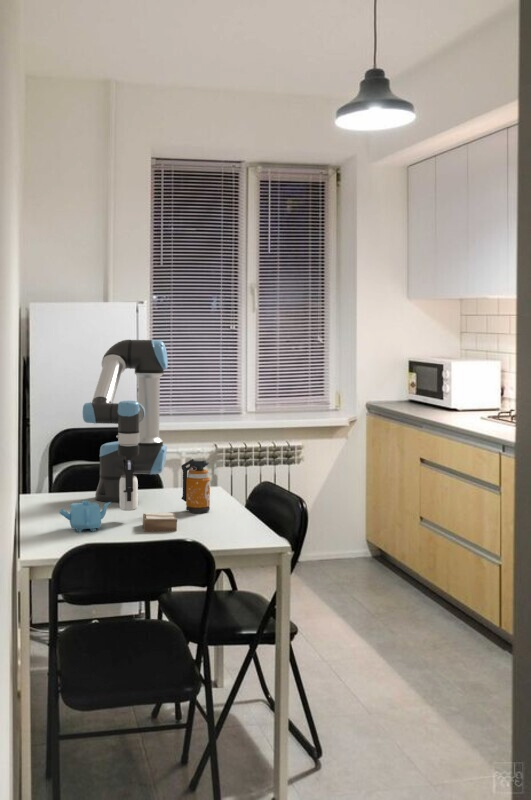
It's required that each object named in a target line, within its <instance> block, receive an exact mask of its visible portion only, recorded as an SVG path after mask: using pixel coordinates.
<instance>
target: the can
mask: <svg viewBox="0 0 531 800" xmlns="http://www.w3.org/2000/svg"><path fill="white" fill-rule="evenodd" d="M138 487H139V484H138V478H137V474H133V510H125V492H123V491H124V490H125V489H126V480H125V475H122V476H121V478H120V485H119V497H120V502H119V509H120V511H126V512H127V511H128V512H129V511H135V510H137V509H138V505H139V504H138V500H139V499H138V498H139V496H138V493H139V491H138V490H139V488H138Z"/></svg>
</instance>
